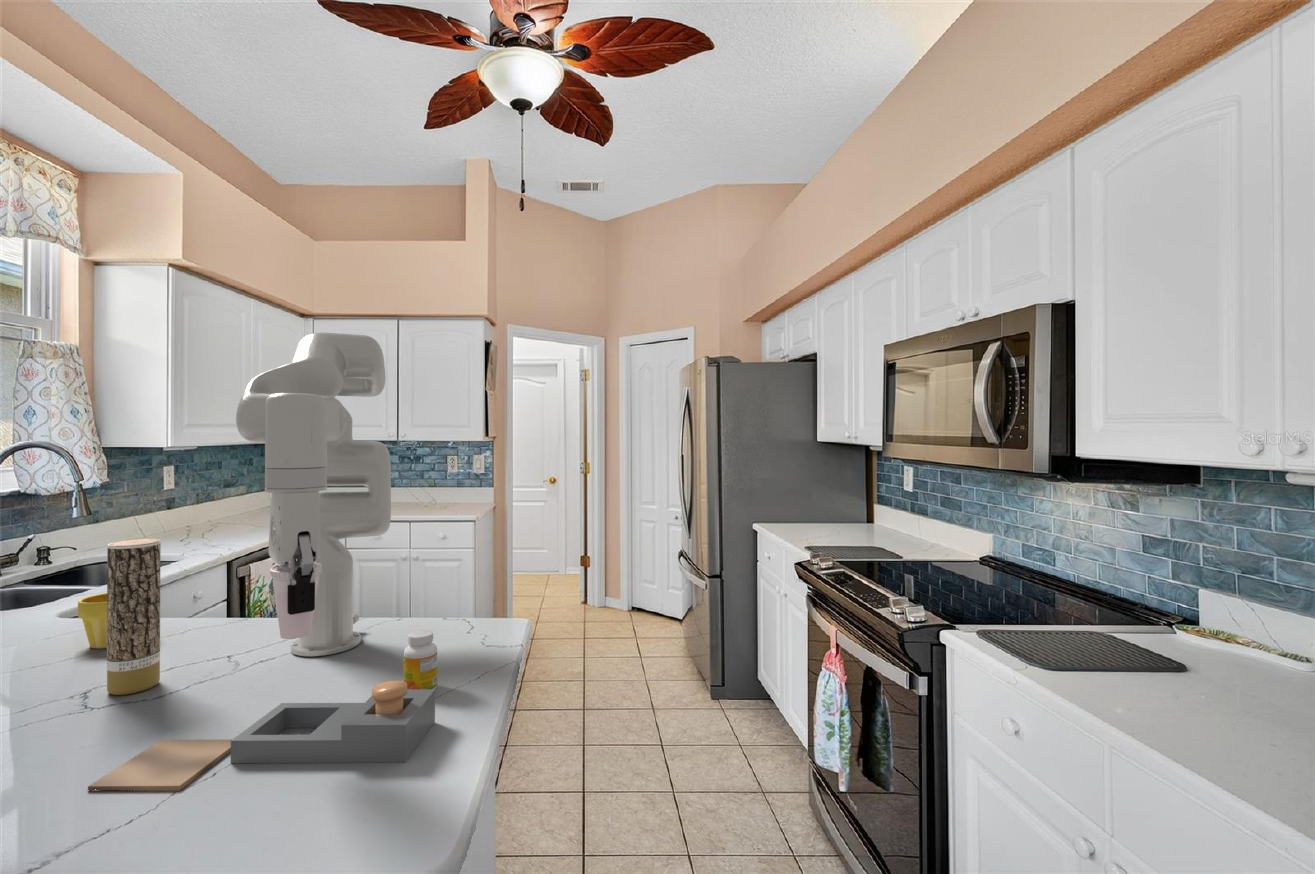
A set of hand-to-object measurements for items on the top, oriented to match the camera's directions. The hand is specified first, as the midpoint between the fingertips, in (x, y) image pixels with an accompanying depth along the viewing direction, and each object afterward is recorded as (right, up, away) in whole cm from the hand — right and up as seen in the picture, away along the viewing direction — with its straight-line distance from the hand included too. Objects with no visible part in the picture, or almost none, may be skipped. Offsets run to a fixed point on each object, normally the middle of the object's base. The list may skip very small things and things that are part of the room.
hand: (296, 605), depth 84 cm
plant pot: (-62, -19, +39) cm, 75 cm away
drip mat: (-13, -19, -6) cm, 24 cm away
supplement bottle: (+11, -20, +17) cm, 28 cm away
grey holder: (+6, -19, 0) cm, 20 cm away
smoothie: (0, -4, 0) cm, 4 cm away
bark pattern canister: (-38, -19, +17) cm, 46 cm away
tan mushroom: (+13, -19, 0) cm, 23 cm away
